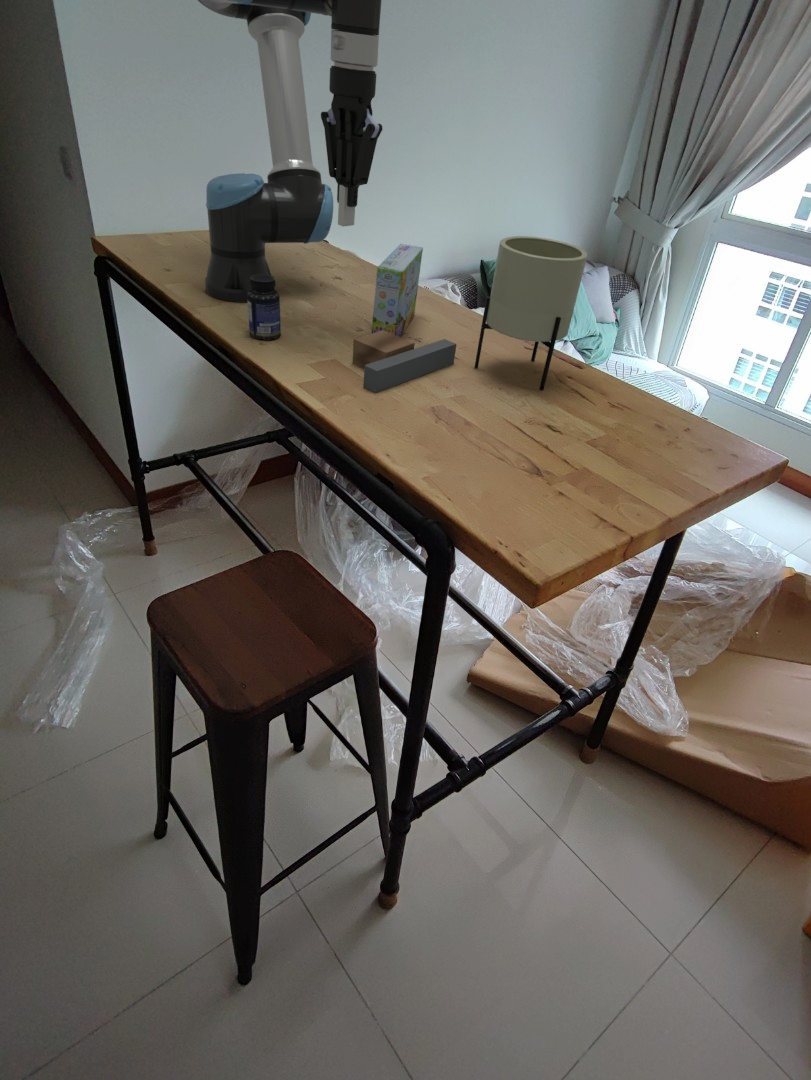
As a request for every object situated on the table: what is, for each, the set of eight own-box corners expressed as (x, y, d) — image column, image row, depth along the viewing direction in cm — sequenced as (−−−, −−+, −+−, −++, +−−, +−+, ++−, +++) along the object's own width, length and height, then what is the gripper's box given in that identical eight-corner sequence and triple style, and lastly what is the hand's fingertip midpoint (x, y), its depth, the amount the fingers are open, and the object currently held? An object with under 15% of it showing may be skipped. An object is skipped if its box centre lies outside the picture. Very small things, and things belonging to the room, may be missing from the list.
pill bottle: (286, 334, 129) (285, 277, 122) (269, 343, 125) (267, 285, 118) (261, 327, 131) (258, 271, 124) (242, 336, 126) (239, 277, 120)
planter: (508, 395, 117) (536, 262, 103) (463, 361, 127) (483, 236, 113) (573, 386, 123) (608, 259, 109) (525, 354, 134) (551, 235, 120)
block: (352, 365, 121) (353, 339, 118) (380, 355, 126) (382, 330, 123) (384, 379, 117) (386, 352, 114) (412, 368, 122) (414, 342, 119)
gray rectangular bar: (363, 386, 113) (364, 365, 111) (441, 358, 127) (444, 338, 125) (375, 392, 112) (377, 371, 109) (453, 363, 126) (456, 343, 123)
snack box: (396, 349, 129) (403, 270, 120) (369, 344, 130) (374, 266, 120) (416, 316, 146) (424, 245, 137) (392, 312, 146) (398, 241, 137)
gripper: (309, 59, 104) (307, 217, 119) (364, 71, 98) (355, 236, 113) (343, 62, 109) (337, 214, 124) (398, 73, 103) (385, 231, 117)
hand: (346, 224), depth 118 cm, fingers closed
